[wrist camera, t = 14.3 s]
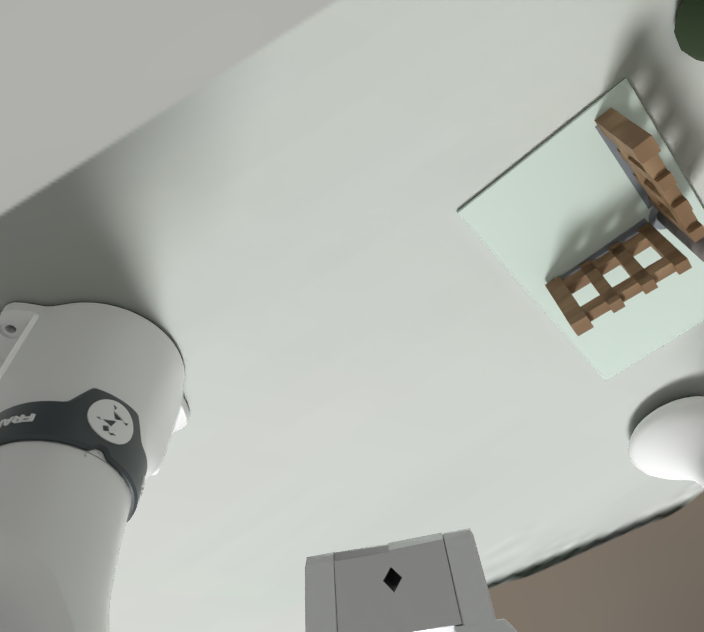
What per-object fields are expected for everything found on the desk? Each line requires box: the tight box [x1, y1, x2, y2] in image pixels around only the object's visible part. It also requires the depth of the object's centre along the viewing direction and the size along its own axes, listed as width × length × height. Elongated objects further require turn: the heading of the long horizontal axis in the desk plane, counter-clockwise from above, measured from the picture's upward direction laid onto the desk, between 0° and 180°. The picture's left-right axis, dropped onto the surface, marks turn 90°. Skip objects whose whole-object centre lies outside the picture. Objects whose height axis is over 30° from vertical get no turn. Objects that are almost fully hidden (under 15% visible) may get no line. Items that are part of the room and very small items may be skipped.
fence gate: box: [545, 222, 692, 336], centre depth 48 cm, size 1×10×6 cm, turn 128°
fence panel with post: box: [594, 108, 704, 262], centre depth 44 cm, size 2×12×7 cm, turn 42°
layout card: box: [457, 78, 704, 381], centre depth 51 cm, size 15×25×1 cm, turn 42°
